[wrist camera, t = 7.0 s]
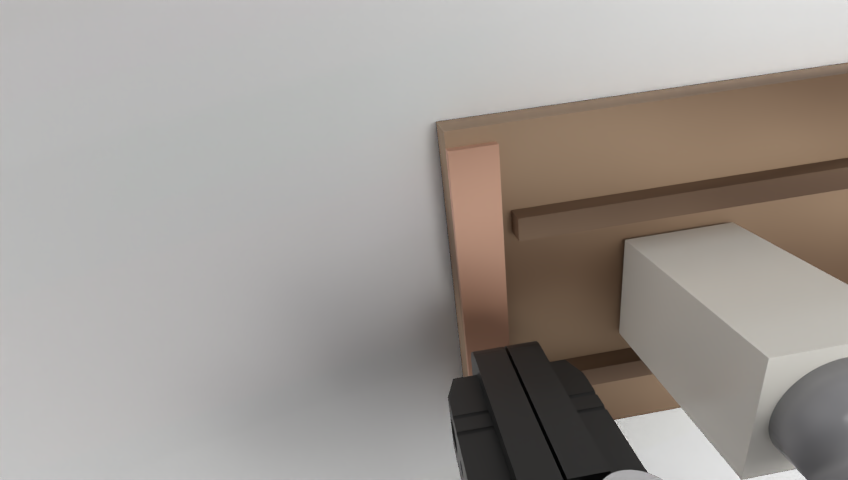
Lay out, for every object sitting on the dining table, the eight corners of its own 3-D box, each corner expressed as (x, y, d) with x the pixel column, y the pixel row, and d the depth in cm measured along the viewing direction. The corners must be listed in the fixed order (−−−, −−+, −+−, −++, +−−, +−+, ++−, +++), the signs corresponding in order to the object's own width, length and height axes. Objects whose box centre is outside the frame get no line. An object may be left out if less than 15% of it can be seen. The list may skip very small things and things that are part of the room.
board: (436, 121, 12) (448, 137, 11) (1080, 29, 13) (1179, 30, 12) (467, 417, 17) (479, 461, 15) (956, 328, 18) (1016, 360, 16)
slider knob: (624, 240, 13) (808, 390, 8) (732, 222, 13) (983, 357, 8) (619, 333, 14) (772, 516, 9) (717, 315, 14) (924, 486, 9)
